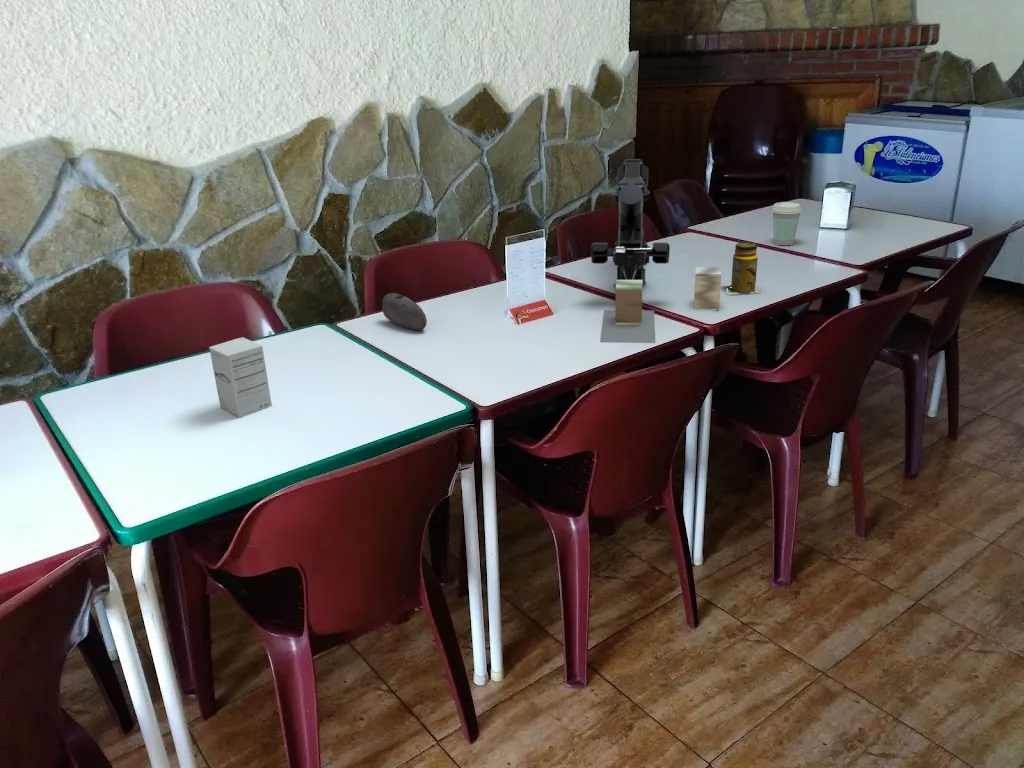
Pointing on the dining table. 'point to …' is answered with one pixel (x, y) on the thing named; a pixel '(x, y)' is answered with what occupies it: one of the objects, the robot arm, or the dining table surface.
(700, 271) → the beech block
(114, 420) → the dining table surface
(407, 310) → the perforated stone tool
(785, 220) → the coffee cup
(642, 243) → the robot arm
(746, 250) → the condiment
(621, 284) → the small carton
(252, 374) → the supplement box
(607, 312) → the mat
